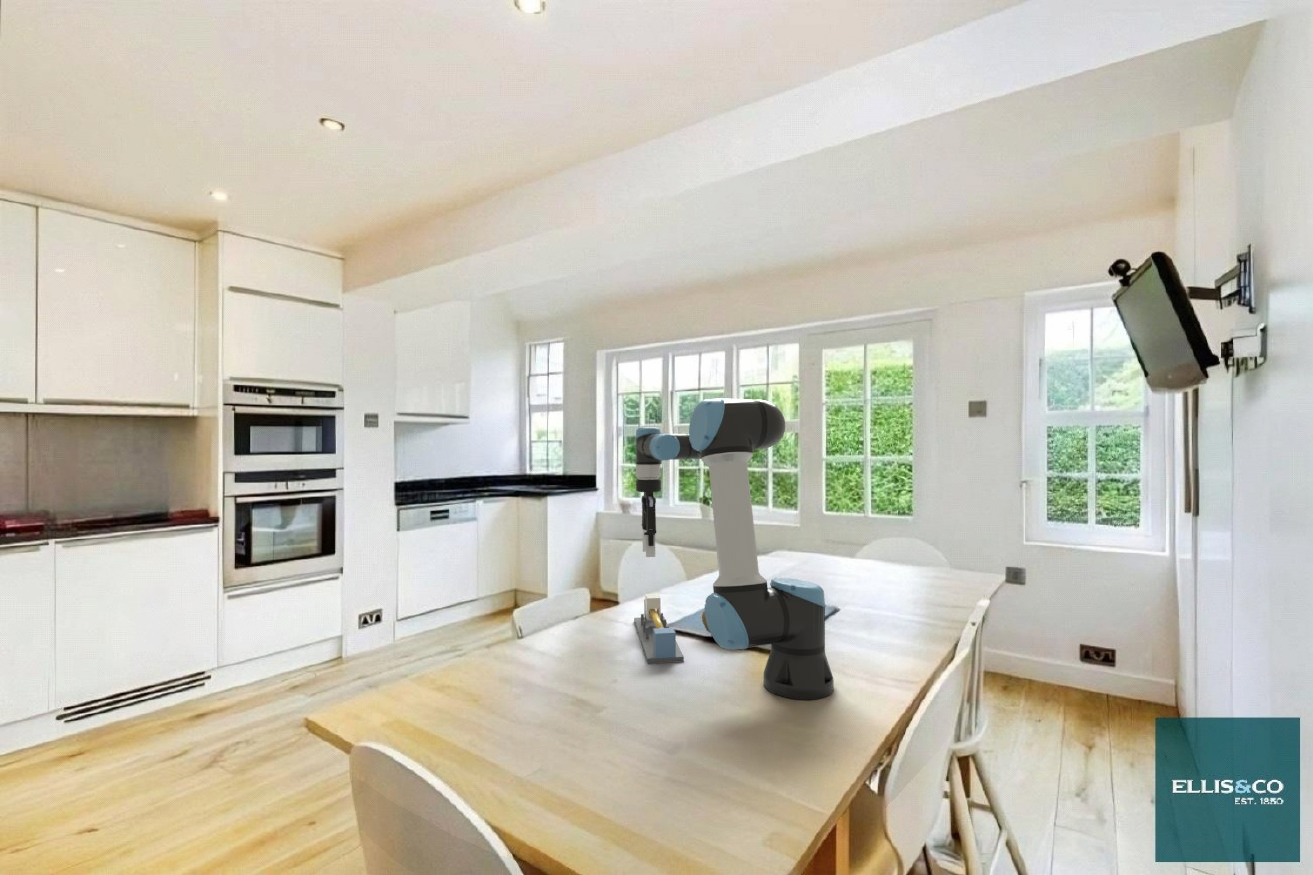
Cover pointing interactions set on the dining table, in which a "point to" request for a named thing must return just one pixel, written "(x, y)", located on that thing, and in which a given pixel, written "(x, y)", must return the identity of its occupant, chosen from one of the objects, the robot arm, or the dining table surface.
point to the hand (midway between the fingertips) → (648, 553)
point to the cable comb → (657, 639)
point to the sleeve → (652, 605)
